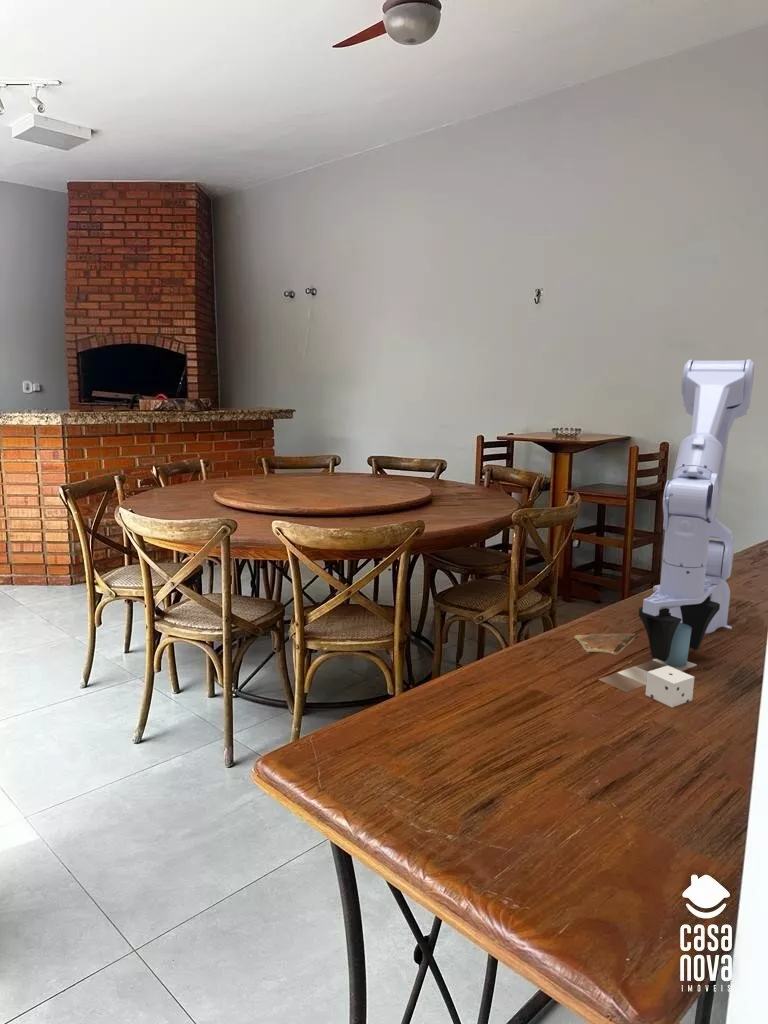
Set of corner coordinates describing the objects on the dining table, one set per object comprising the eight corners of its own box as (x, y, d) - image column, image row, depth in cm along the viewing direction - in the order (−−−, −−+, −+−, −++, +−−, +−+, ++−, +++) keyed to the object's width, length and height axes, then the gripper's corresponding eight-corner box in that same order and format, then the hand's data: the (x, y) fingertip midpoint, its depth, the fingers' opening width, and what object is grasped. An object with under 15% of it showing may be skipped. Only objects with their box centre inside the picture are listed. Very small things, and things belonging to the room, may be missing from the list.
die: (665, 693, 92) (667, 664, 91) (692, 706, 88) (695, 676, 87) (644, 700, 90) (646, 671, 89) (671, 713, 86) (674, 683, 85)
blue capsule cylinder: (673, 655, 102) (678, 621, 101) (691, 664, 99) (696, 628, 98) (658, 659, 100) (662, 624, 99) (676, 668, 98) (681, 632, 96)
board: (667, 657, 103) (667, 653, 103) (698, 669, 99) (698, 665, 99) (596, 683, 94) (596, 678, 94) (627, 697, 90) (627, 692, 90)
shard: (638, 641, 110) (639, 631, 110) (659, 661, 103) (660, 650, 103) (572, 642, 110) (572, 632, 109) (588, 662, 102) (589, 651, 102)
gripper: (688, 549, 104) (680, 634, 107) (627, 563, 96) (620, 654, 99) (733, 560, 98) (723, 649, 101) (672, 575, 90) (663, 671, 93)
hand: (675, 653), depth 99 cm, fingers open, 7 cm apart
